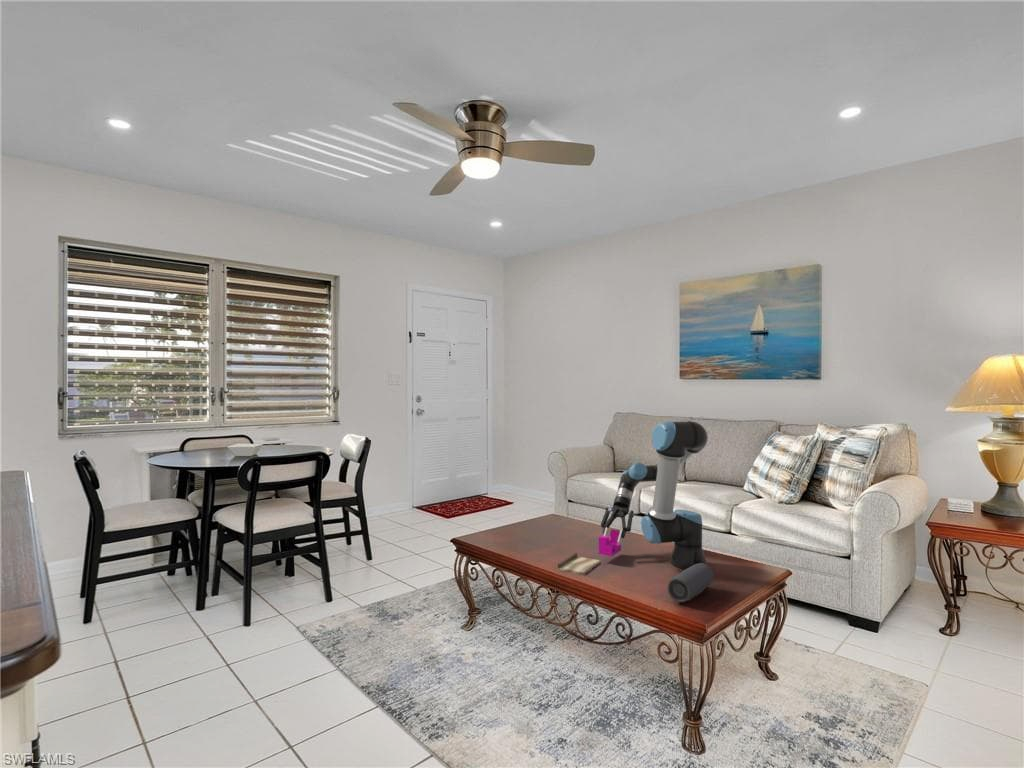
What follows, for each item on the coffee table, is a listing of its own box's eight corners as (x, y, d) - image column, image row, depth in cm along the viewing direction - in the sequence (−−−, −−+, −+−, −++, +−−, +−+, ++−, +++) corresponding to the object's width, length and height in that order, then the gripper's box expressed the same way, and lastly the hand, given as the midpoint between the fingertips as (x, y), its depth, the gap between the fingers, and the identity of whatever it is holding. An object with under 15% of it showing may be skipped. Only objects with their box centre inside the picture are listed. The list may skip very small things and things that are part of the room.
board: (600, 562, 239) (600, 557, 239) (583, 575, 224) (583, 569, 224) (575, 558, 245) (575, 552, 245) (557, 569, 230) (557, 564, 230)
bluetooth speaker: (691, 584, 214) (691, 559, 214) (714, 590, 208) (715, 564, 208) (665, 601, 197) (665, 574, 197) (690, 608, 190) (690, 580, 190)
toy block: (611, 556, 236) (611, 539, 236) (598, 553, 240) (598, 537, 240) (625, 547, 249) (624, 531, 249) (612, 545, 252) (612, 529, 252)
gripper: (644, 506, 255) (634, 549, 241) (605, 502, 265) (593, 543, 251) (641, 497, 251) (630, 540, 236) (601, 493, 261) (588, 535, 246)
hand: (611, 542), depth 244 cm, fingers closed on toy block, 6 cm apart
